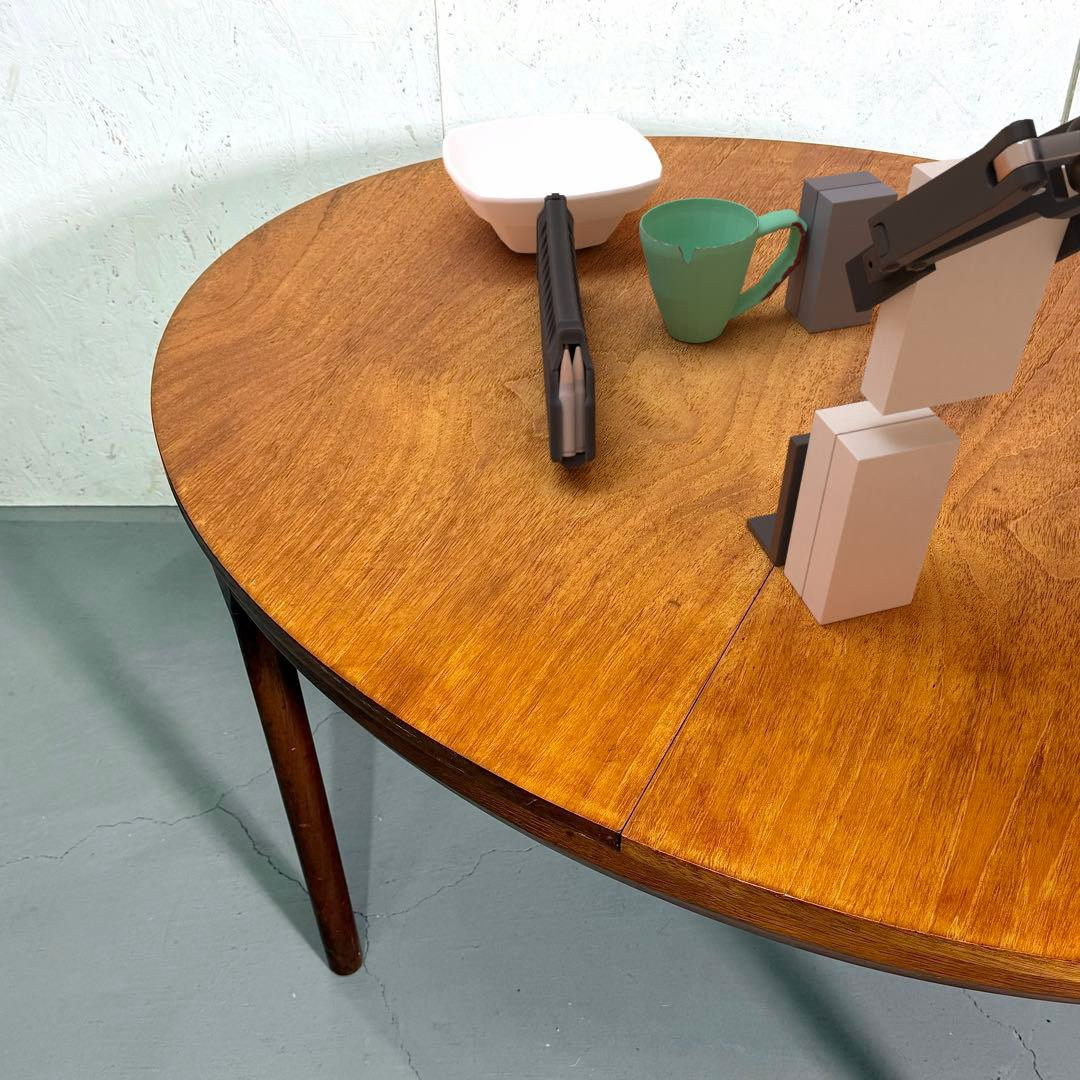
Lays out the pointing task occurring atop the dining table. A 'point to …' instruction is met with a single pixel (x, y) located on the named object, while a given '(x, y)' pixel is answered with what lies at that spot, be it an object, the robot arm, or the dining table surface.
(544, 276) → the magazine
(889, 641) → the dining table surface
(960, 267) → the thin book
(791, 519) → the white books
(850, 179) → the grey books
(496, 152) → the bowl
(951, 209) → the robot arm
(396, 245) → the dining table surface
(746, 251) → the mug
